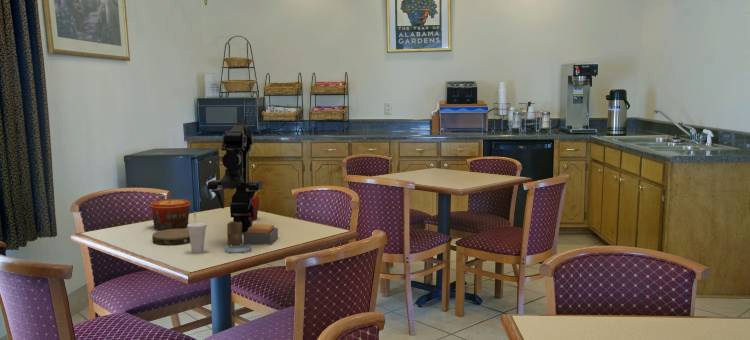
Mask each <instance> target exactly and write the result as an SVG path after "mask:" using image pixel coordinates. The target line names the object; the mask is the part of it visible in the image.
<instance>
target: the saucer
mask: <svg viewBox="0 0 750 340" xmlns="http://www.w3.org/2000/svg"><path fill="white" fill-rule="evenodd" d="M249 251H250V252H251V251H252V246H251V245H249V244H241V245H233V246H228V245H227V246H226V247H225V248H224V252H225V253H226V252H228V253H227V254H231V253H241V254H246V253H245V252H247V253H249Z"/></svg>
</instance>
